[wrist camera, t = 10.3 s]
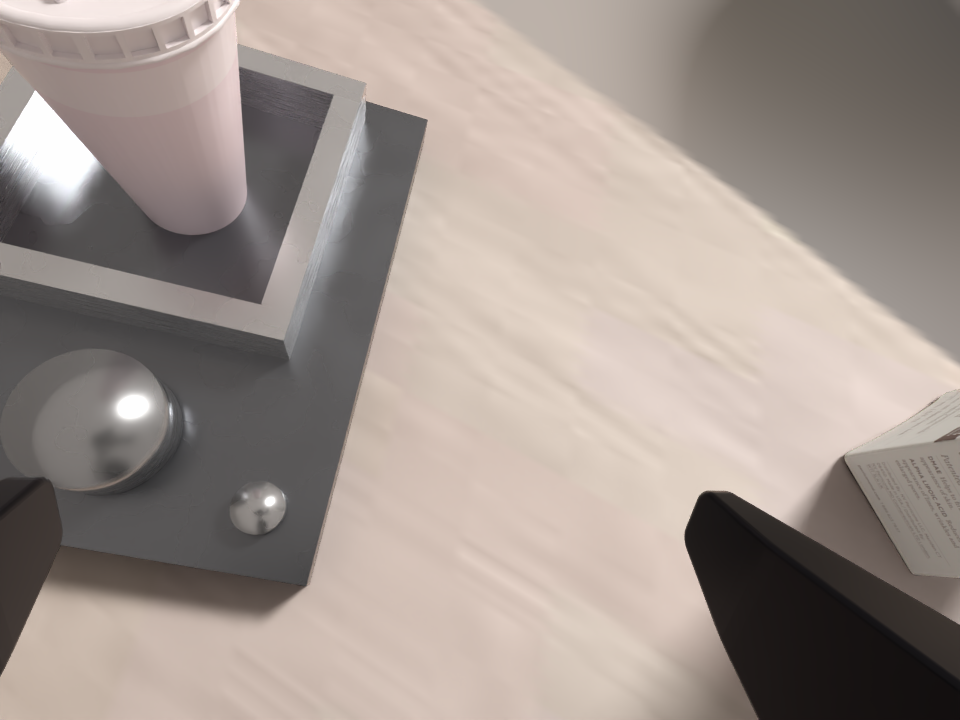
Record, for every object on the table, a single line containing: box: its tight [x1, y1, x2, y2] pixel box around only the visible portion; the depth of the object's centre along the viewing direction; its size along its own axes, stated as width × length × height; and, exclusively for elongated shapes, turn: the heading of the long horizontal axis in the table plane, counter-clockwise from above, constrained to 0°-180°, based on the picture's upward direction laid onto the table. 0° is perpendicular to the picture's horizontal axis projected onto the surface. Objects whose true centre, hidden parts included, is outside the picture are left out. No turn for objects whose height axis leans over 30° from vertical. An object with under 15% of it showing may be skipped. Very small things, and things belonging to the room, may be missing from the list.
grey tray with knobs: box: [0, 44, 428, 586], centre depth 19 cm, size 19×14×4 cm
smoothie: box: [0, 0, 247, 235], centre depth 14 cm, size 6×6×14 cm
